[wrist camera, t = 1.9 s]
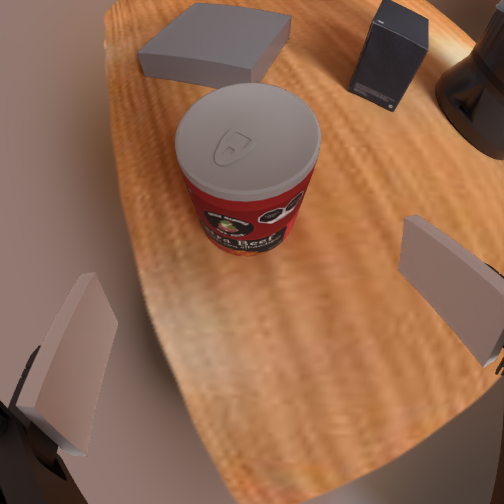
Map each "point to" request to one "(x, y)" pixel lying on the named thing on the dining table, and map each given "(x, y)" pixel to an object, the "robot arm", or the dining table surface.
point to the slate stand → (216, 45)
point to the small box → (390, 55)
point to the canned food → (247, 163)
